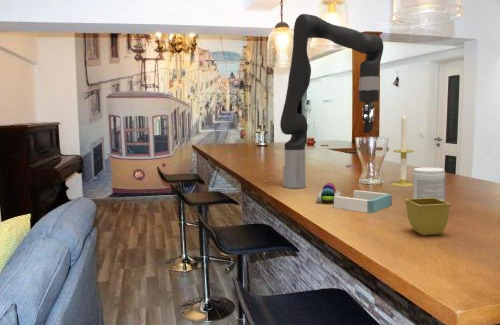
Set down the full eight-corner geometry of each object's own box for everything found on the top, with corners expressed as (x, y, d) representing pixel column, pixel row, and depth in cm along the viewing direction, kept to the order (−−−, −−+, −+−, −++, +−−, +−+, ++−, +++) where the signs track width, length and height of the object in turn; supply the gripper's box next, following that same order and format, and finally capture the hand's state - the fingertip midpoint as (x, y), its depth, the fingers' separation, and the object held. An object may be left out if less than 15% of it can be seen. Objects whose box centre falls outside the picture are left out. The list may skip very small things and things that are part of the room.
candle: (390, 186, 191) (391, 112, 187) (392, 182, 200) (392, 112, 196) (414, 187, 187) (416, 111, 183) (415, 183, 196) (416, 111, 192)
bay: (333, 207, 153) (333, 196, 152) (355, 200, 164) (355, 190, 163) (371, 213, 143) (371, 201, 142) (391, 205, 154) (391, 194, 153)
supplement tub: (451, 215, 137) (452, 169, 135) (424, 218, 135) (425, 171, 133) (431, 209, 146) (432, 166, 144) (406, 211, 144) (407, 168, 142)
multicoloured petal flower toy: (342, 199, 166) (342, 181, 165) (338, 205, 157) (338, 185, 156) (320, 199, 169) (320, 180, 168) (315, 204, 160) (315, 185, 159)
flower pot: (404, 229, 123) (404, 198, 122) (433, 227, 124) (434, 197, 123) (418, 238, 114) (419, 205, 113) (450, 236, 115) (451, 203, 114)
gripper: (361, 90, 170) (360, 131, 172) (356, 89, 157) (355, 133, 159) (381, 89, 167) (380, 131, 170) (377, 88, 154) (376, 133, 156)
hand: (368, 132), depth 164 cm, fingers open, 8 cm apart
